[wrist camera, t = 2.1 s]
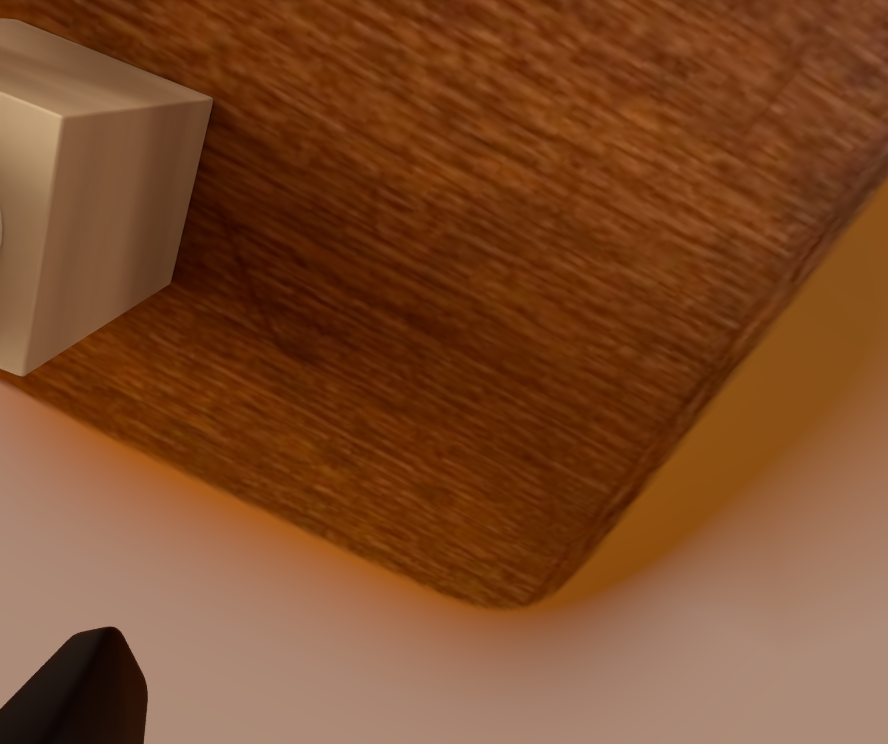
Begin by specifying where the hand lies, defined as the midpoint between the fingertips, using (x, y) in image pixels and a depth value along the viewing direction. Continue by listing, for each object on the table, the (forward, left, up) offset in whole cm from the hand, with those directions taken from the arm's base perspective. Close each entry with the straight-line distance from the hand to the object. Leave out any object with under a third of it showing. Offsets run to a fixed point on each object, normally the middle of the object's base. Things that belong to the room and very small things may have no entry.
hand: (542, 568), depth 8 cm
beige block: (+11, +4, -12) cm, 17 cm away
